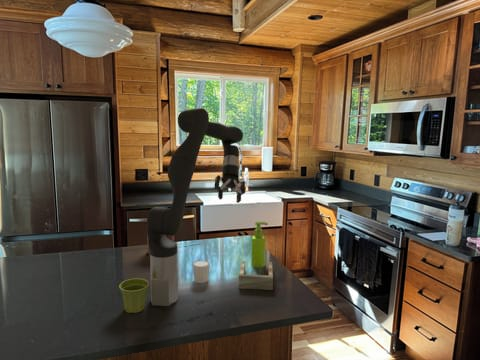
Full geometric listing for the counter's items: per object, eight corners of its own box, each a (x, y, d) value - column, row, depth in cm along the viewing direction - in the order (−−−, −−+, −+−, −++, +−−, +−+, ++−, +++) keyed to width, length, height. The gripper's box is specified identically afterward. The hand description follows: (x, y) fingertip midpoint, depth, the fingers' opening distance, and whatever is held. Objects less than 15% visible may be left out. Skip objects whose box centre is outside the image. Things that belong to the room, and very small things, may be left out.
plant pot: (138, 298, 118) (138, 275, 117) (155, 308, 113) (154, 283, 111) (114, 309, 111) (113, 284, 110) (130, 319, 105) (129, 293, 104)
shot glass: (189, 281, 133) (189, 264, 132) (199, 275, 139) (199, 258, 138) (203, 285, 130) (203, 268, 129) (213, 278, 136) (213, 262, 135)
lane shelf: (272, 289, 127) (273, 277, 127) (238, 288, 128) (238, 275, 127) (271, 270, 145) (271, 259, 144) (241, 269, 145) (241, 258, 145)
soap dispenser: (266, 268, 147) (267, 224, 144) (250, 267, 148) (251, 224, 144) (267, 262, 153) (267, 220, 149) (251, 262, 154) (252, 220, 150)
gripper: (220, 160, 147) (218, 195, 141) (248, 167, 153) (247, 201, 147) (213, 167, 153) (211, 200, 147) (240, 173, 159) (240, 205, 153)
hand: (229, 200), depth 147 cm, fingers open, 8 cm apart
